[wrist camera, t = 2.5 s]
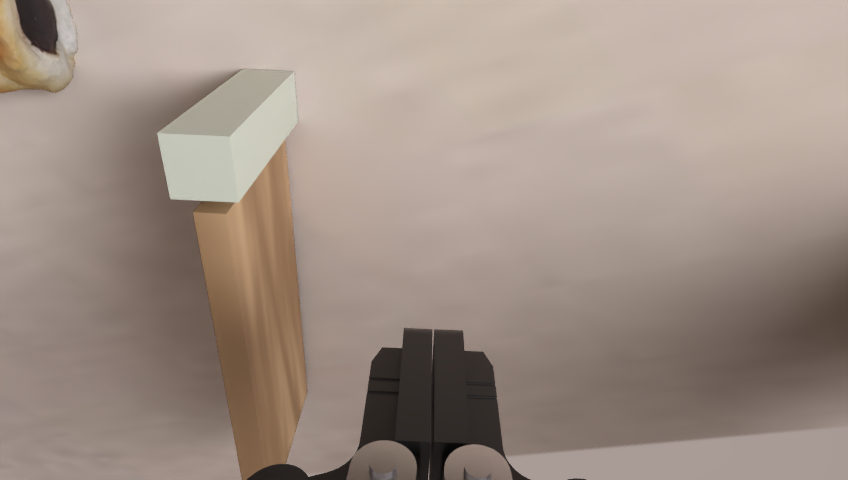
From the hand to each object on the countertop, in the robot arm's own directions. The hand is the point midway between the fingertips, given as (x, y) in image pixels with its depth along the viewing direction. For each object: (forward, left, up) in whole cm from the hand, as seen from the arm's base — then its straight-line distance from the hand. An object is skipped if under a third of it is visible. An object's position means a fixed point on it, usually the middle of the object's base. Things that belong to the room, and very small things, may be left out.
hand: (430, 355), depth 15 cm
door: (+7, +5, -11) cm, 14 cm away
